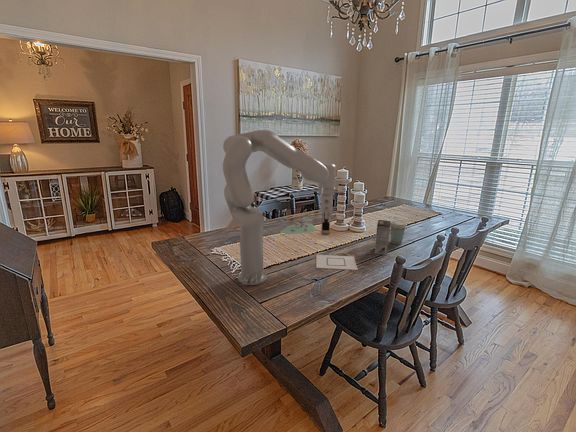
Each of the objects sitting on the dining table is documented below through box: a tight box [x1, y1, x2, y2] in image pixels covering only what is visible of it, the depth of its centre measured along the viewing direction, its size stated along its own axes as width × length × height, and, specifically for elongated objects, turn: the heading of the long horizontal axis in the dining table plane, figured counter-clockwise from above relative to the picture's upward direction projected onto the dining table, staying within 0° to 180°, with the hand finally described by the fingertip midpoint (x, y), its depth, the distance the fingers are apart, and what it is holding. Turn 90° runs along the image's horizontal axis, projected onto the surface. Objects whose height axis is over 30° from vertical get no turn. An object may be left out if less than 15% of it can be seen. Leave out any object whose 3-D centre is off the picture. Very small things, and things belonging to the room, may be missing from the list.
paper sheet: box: [315, 254, 359, 271], centre depth 149 cm, size 15×19×1 cm
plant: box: [279, 215, 317, 235], centre depth 197 cm, size 25×21×9 cm
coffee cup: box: [390, 220, 407, 246], centre depth 173 cm, size 9×8×12 cm
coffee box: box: [374, 219, 392, 256], centre depth 160 cm, size 9×6×16 cm
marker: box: [320, 214, 331, 236], centre depth 144 cm, size 4×4×12 cm
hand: (325, 228), depth 145 cm, fingers closed on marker, 4 cm apart
